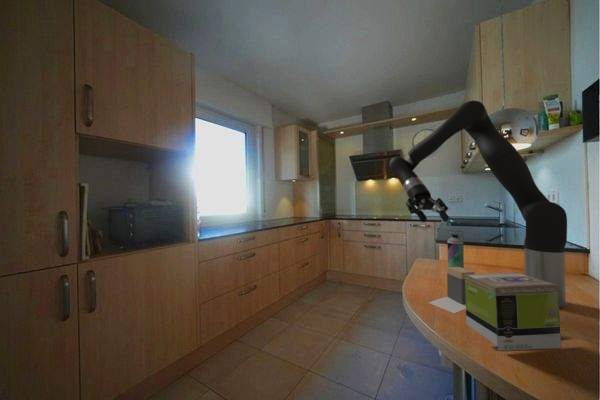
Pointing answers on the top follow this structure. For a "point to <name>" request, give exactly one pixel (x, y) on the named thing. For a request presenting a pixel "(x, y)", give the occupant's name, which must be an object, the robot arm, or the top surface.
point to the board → (448, 304)
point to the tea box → (513, 310)
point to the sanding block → (457, 283)
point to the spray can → (455, 252)
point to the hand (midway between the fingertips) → (436, 220)
